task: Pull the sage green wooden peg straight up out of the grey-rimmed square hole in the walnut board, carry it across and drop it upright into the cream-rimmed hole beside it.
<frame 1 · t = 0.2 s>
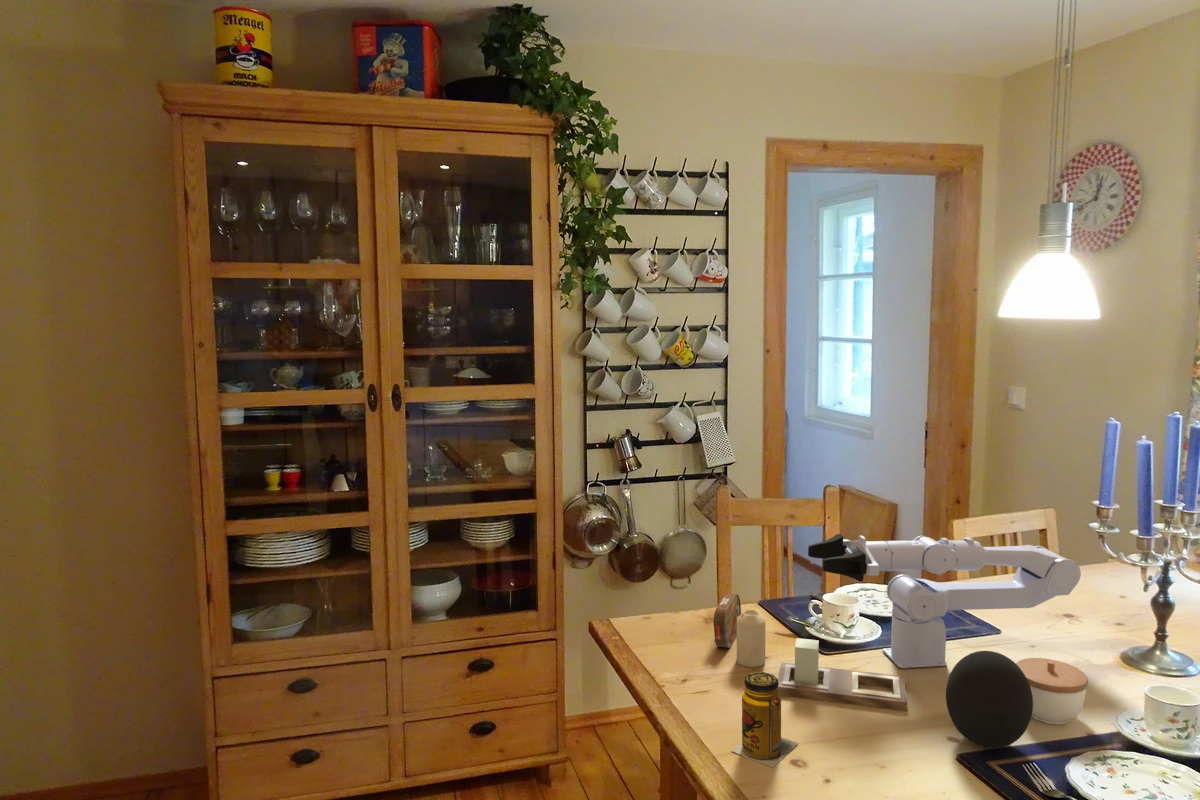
hand: (815, 557, 153), 21 cm above the table, tool horizontal, fingers open, 7 cm apart
candle: (750, 662, 158), on the table
peg: (806, 685, 148), resting in socket board
tin: (727, 639, 169), on the table
lidded jar: (1048, 716, 136), on the table
condiment: (764, 749, 128), on the table
socket board: (840, 689, 146), on the table
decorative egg: (986, 744, 128), on the table
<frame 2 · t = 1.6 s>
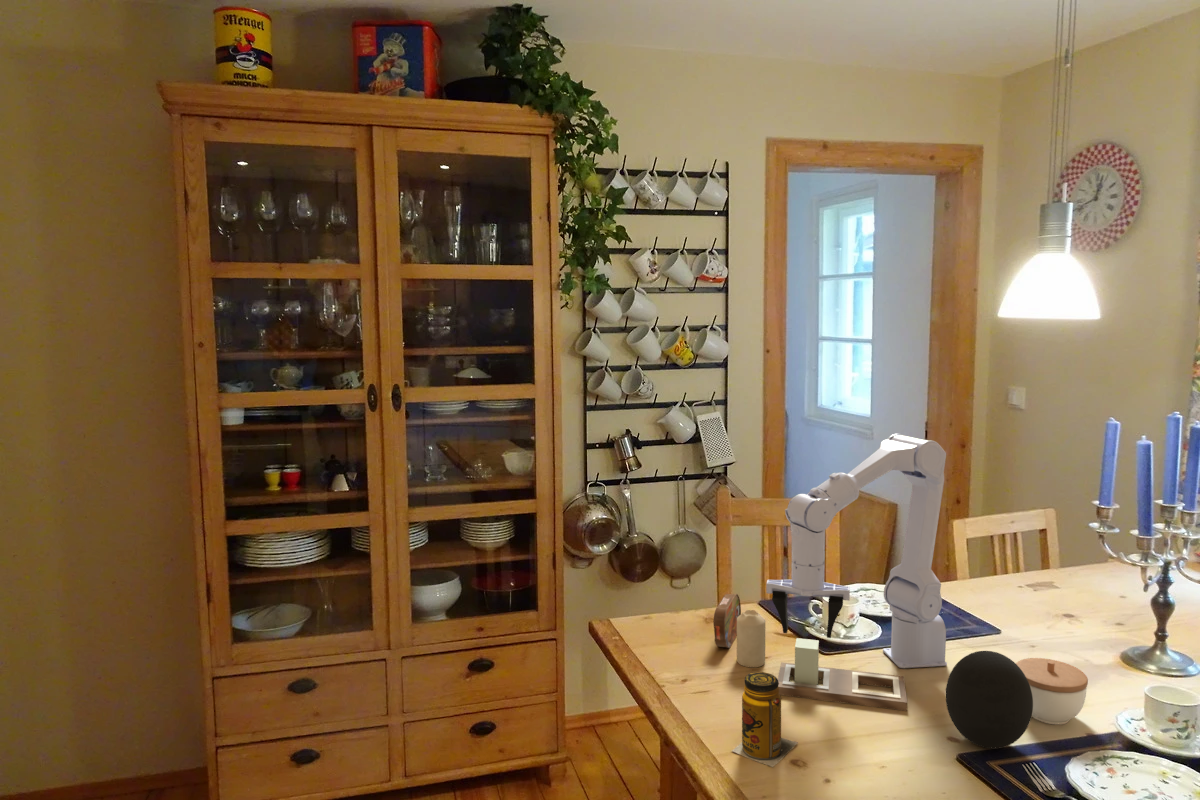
hand: (807, 633, 147), 10 cm above the table, tool pointing down, fingers open, 7 cm apart
nothing on the table moved.
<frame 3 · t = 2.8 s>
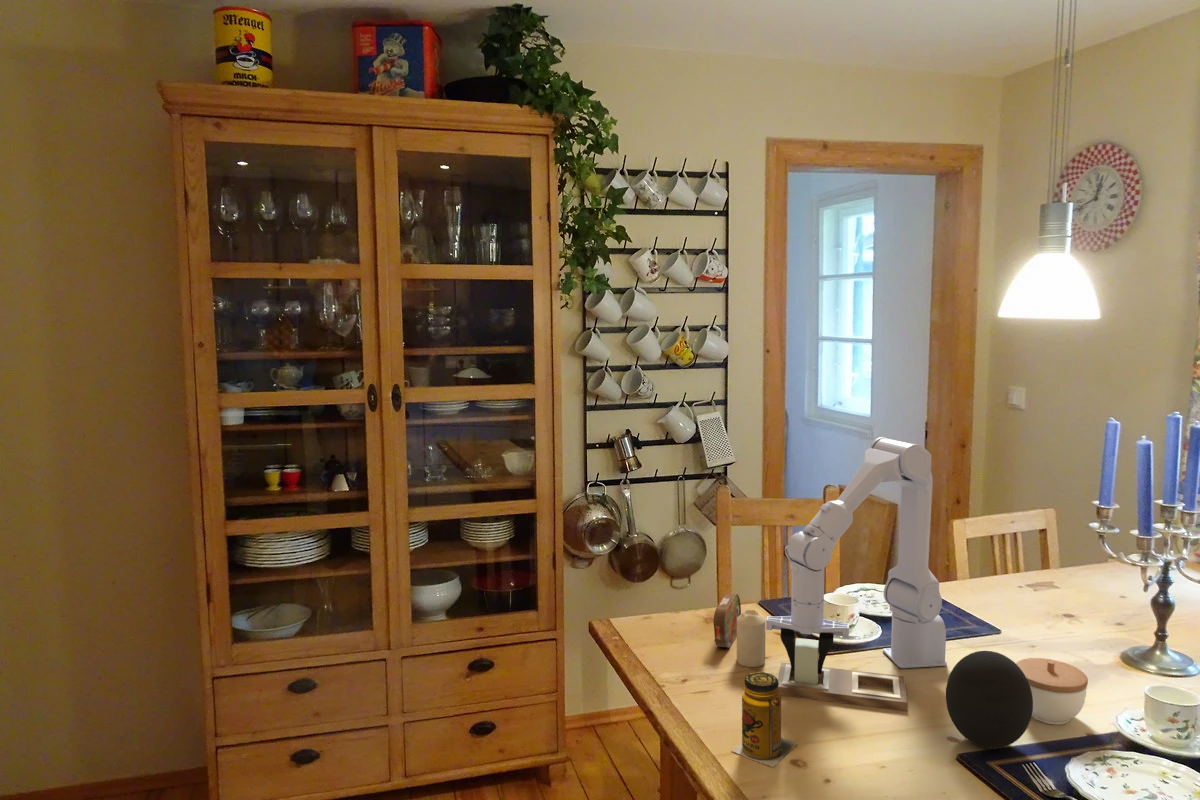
hand: (806, 669, 148), 3 cm above the table, tool pointing down, fingers closed on peg, 4 cm apart
peg: (806, 685, 148), resting in socket board, touching gripper
everything else where it was.
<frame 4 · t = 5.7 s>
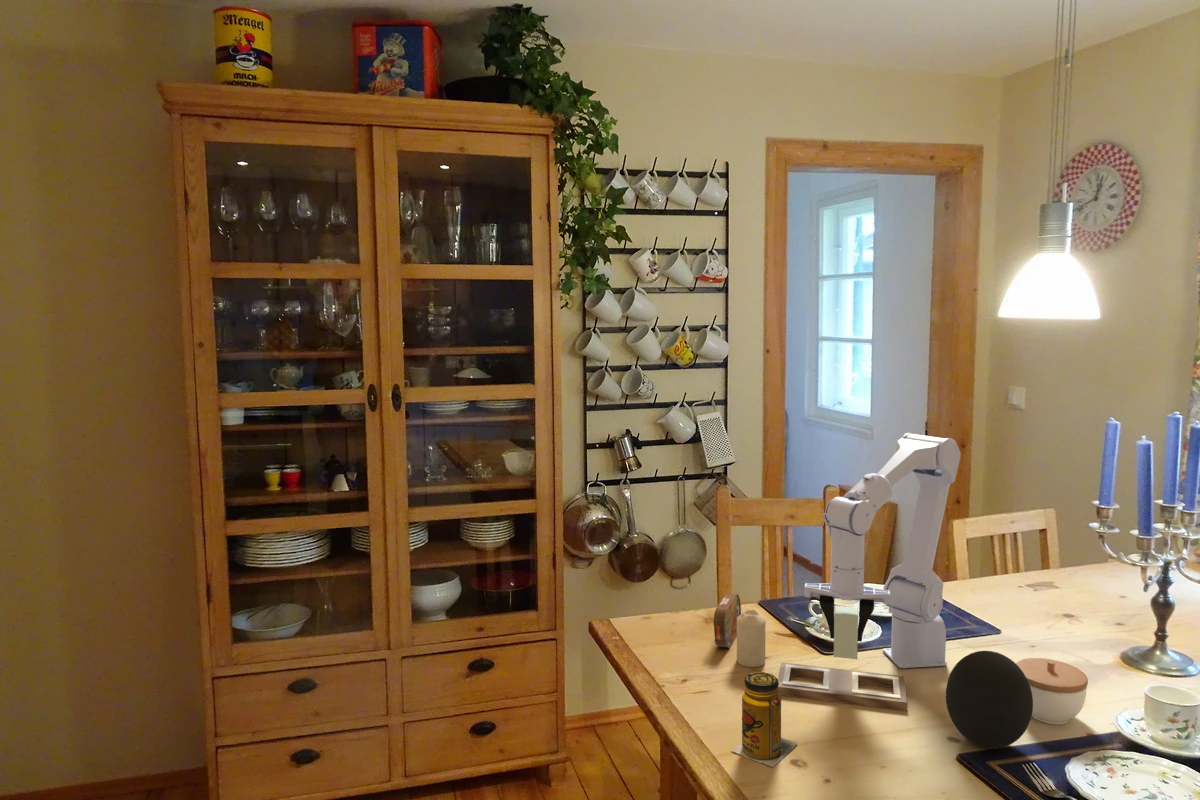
hand: (846, 637, 145), 10 cm above the table, tool pointing down, fingers closed on peg, 4 cm apart
peg: (845, 653, 145), point 7 cm above the table, touching gripper
everything else where it was.
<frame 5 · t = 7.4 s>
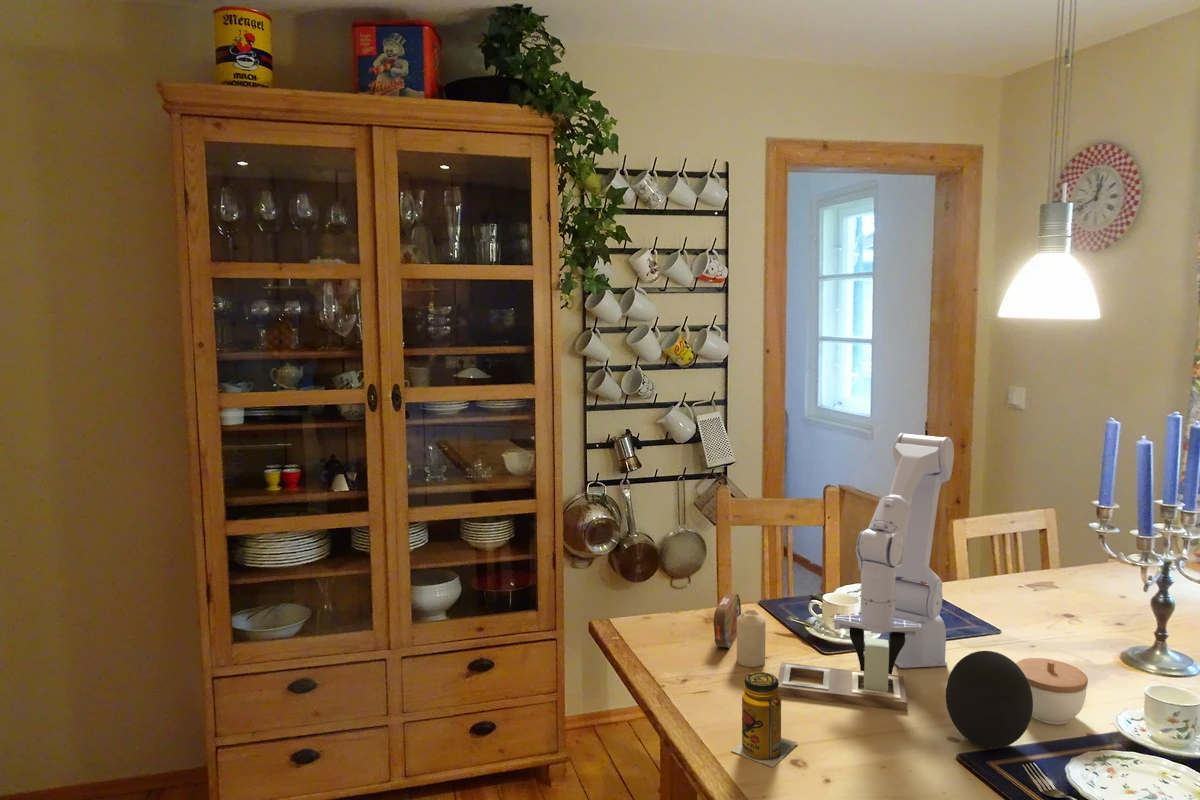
hand: (875, 670, 144), 4 cm above the table, tool pointing down, fingers closed on peg, 4 cm apart
peg: (875, 685, 144), point 1 cm above the table, touching gripper
everything else where it was.
when the fingers open (4 cm above the table, at t = 8.7 s): peg drops 1 cm, resting in socket board.
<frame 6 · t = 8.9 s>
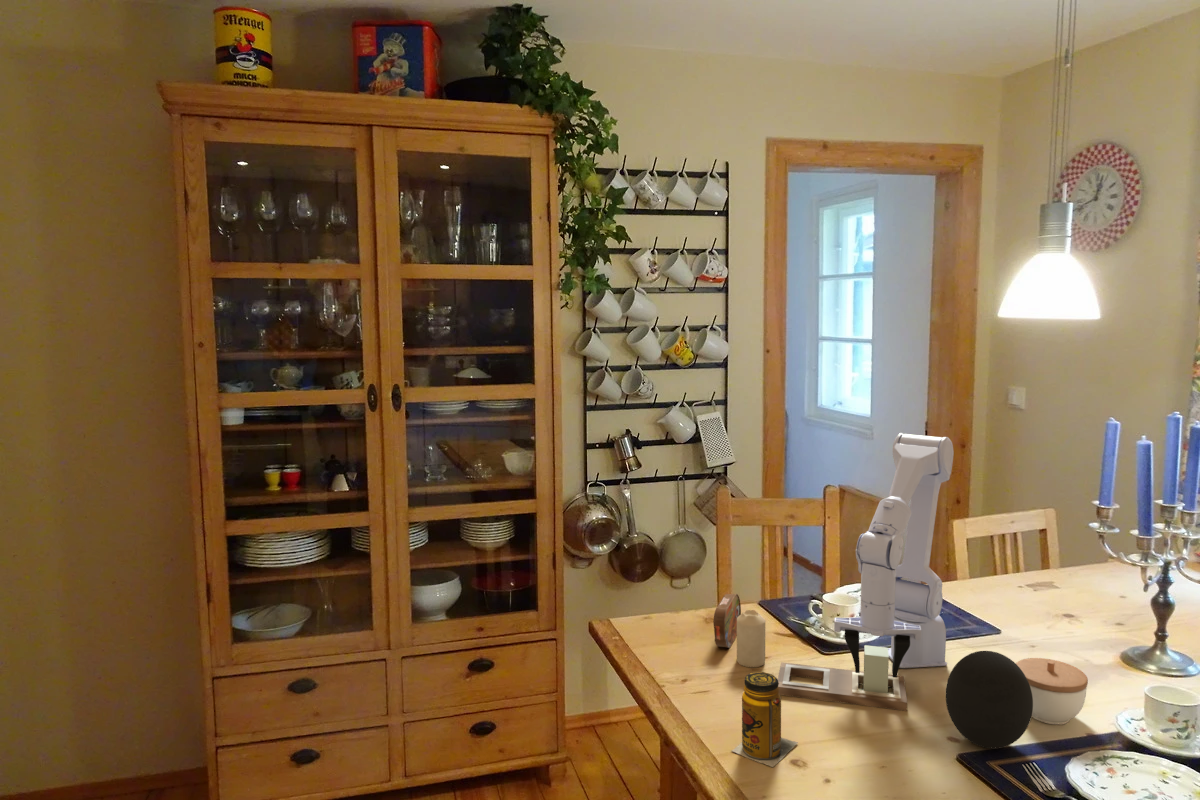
hand: (875, 672, 144), 4 cm above the table, tool pointing down, fingers open, 6 cm apart
peg: (875, 693, 144), resting in socket board
everything else where it was.
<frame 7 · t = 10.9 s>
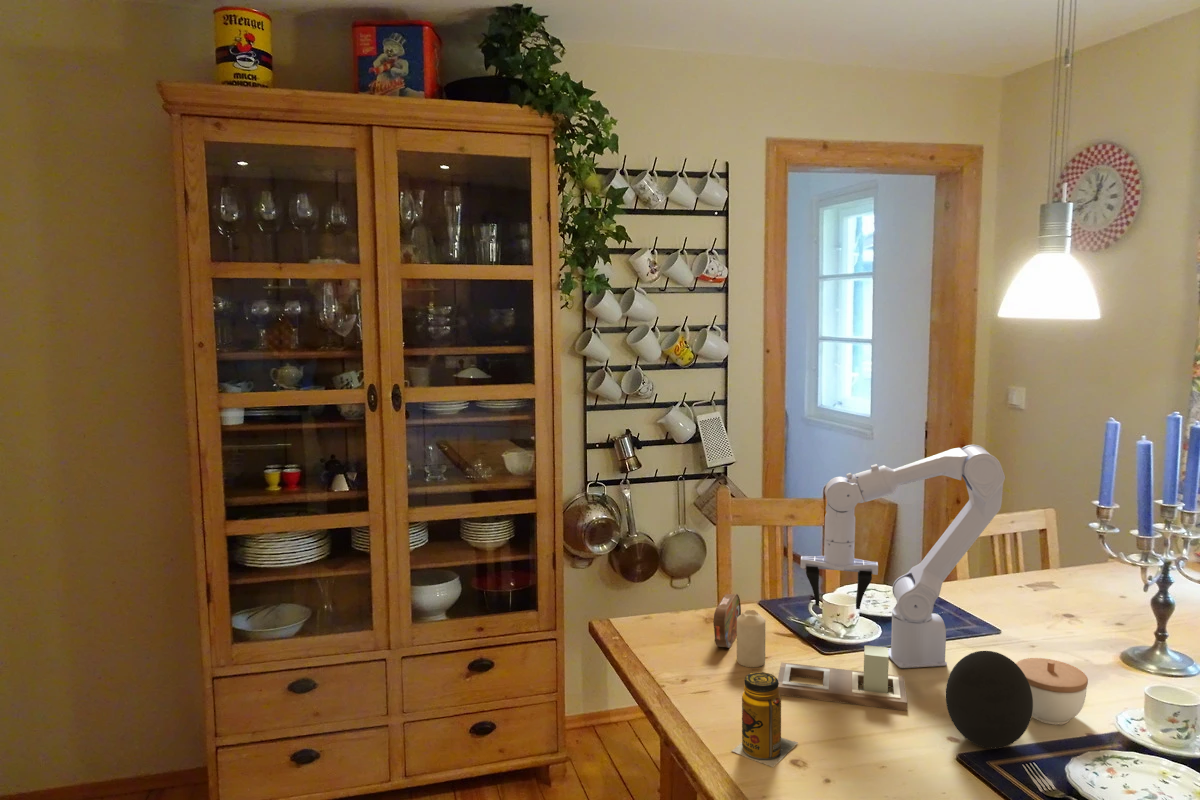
hand: (837, 605, 160), 10 cm above the table, tool pointing down, fingers open, 7 cm apart
nothing on the table moved.
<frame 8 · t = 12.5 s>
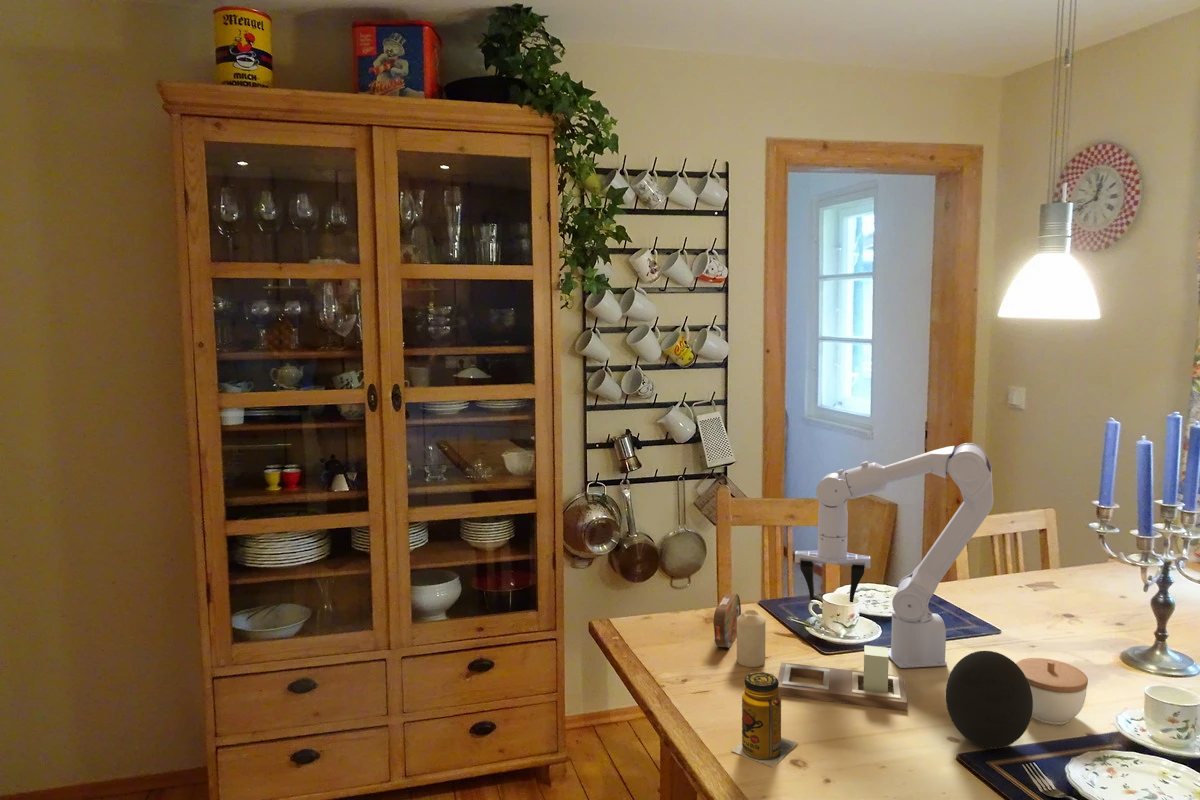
hand: (831, 598, 163), 10 cm above the table, tool pointing down, fingers open, 7 cm apart
nothing on the table moved.
at the end: peg 0.0 cm from the target spot, resting in socket board; peg tilted 0°; the gripper is holding nothing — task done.
